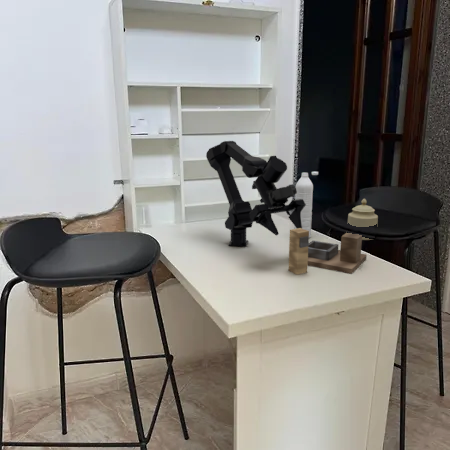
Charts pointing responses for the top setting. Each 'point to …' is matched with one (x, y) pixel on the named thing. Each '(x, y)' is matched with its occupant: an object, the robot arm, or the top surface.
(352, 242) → the wooden fixture board
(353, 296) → the top surface
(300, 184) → the water bottle
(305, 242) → the beige block
